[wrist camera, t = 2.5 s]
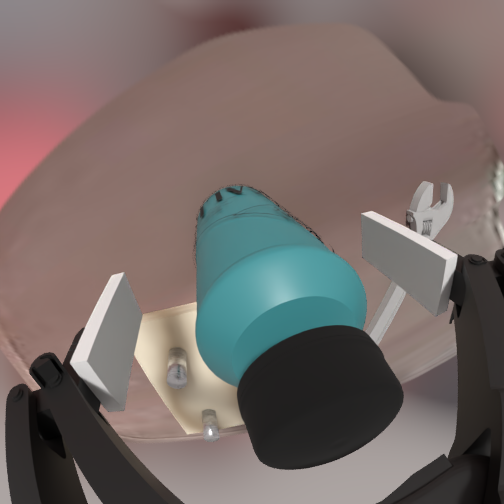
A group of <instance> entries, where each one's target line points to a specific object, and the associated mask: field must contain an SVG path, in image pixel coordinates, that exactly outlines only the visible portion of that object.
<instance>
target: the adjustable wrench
mask: <svg viewBox="0 0 504 504" xmlns="http://www.w3.org/2000/svg"><path fill="white" fill-rule="evenodd" d="M432 195H433V183H429V182H424V181H423V182H422V183H421V184H420V186H419V187H418V189H417V190H416V192H415V194H414V196H413V199H412V202H411V205H410V210H407V214H408V215H407V221H408V222H410V229H411V230H412V231H414V232H416V233H418V234H420V235H422V236H424V237H426V238H428V239H430V240H433V239H434V238H435V236H436V235H437V233H438V232H439V231H440V229H441V228H442V227H443V226H444V224H445V223H446V222H447V221H448V219H449V217H450V215H451V212H452V208H453V190H452V188H451V185H450V184H447V183H444V182H441V189H440V201H439V202H438V203H437V204H436V205H435V206H434V207H433V208H430V205H431V204H432ZM406 293H407V292H406V291H404V290H403V289H402V288H401V287H399V286H398V285H397V284H396V283H394V282H393V281H392V282H391V284H390V286H389V288H388V290H387V292H386V294H385V296H384V298H383V300H382V302H381V304H380V306H379V308H378V309H377V311H376V313H375V315H374V317H373V319H372V320H371V322H370V324H369V326H368V328H367V329H366V331H365V332H366V333H367V334H368V335H369V336H370V337H371V338H372V339H373V341H374V342H375V343H376V344H377V345H378V344H379V342H380V341H381V339H382V337H383V336H384V334H385V332H386V330H387V329H388V327H389V325H390V323H391V321H392V320H393V318H394V316H395V314H396V312H397V310H398V309H399V307H400V305H401V303H402V301H403V299H404V297H405V295H406Z"/></svg>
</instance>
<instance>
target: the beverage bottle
mask: <svg viewBox="0 0 504 504" xmlns="http://www.w3.org/2000/svg"><path fill="white" fill-rule="evenodd" d="M235 185H237V184H235ZM240 185H243V184H240ZM245 186H246V185H245ZM222 188H223V187H222ZM260 191H261V190H260ZM260 191H258V190H256V189H254V188H252V187H247V186H246V187H244V185H243V186H234V185H232V186H231V187H227V188H224V189H220V190H218V191H217V192H216V193H213V195H212V196H211V195H209V196H211V197H209V198H207V199H208V200H207V199H205V200H204V202H205V201H206V200H207V201H206V202H205V203H204V204H202V205H203V206H202V207H200V208H201V209H200V213H199V216H198V215H197V216H198V218H196V220H197V221H198V222H197V226H196V227H197V238H196V239H197V240H196V242H195V245H196V248H195V247H194V246H193V247H194V248H195V249H196V263H197V317H196V322H195V337H196V344H197V348H198V351H199V354H200V356H201V357H202V359H203V361H204V363H205V364H206V365H207V367H208V368H209V369H210V370H211V371H212V372H213V373H214V374H215V375H216V376H217V377H219V378H220V379H221V380H223V381H224V382H226V383H228V384H230V385H232V386H235V387H237V388H238V389H237V401H238V406H239V411H240V414H241V418H242V420H243V422H244V423H245V425H246V427H247V430H248V433H249V437H250V439H251V443H252V445H253V449H254V451H255V453H256V455H257V457H258V459H259V460H260V461H261V462H262V463H263V464H265V465H267V466H269V467H272V468H277V469H285V470H294V469H304V468H310V467H315V466H319V465H322V464H326V463H329V462H332V461H335V460H337V459H340V458H342V457H344V456H346V455H348V454H350V453H352V452H354V451H356V450H358V449H359V448H361V447H363V446H364V445H366V444H367V443H369V442H370V441H371V440H373V439H374V438H375V437H377V436H378V435H379V434H380V433H381V432H382V431H384V430H385V429H386V427H387V426H388V425H389V424H390V423H391V422H392V421H393V419H394V418H395V417H396V415H397V414H398V412H399V410H400V408H401V406H402V403H403V396H404V395H403V391H402V387H401V384H400V382H399V381H398V379H397V378H396V376H395V374H394V373H393V371H392V370H391V368H390V367H389V365H388V364H387V362H386V360H385V359H384V355H383V353H382V351H381V350H380V348H379V347H378V345H377V344H376V343H375V342H374V341H373V339H372V338H371V337H370V336H369V335H368V334H367V333H366V332H364V331H363V327H364V323H365V319H366V312H367V300H366V293H365V290H364V286H363V284H362V282H361V280H360V278H359V276H358V275H357V273H356V272H355V270H354V269H353V268H352V267H351V266H350V265H349V264H348V263H347V262H346V261H345V260H344V259H342V258H341V257H339V256H338V255H336V254H335V253H333V252H334V250H333V252H331V251H330V250H329V249H328V248H327V247H326V246H325V245H324V243H323V242H322V241H321V240H320V241H319V239H320V237H319V236H318V235H317V234H316V233H315V234H316V236H317V237H318V238H319V239H318V238H316V237H315V236H313V235H312V234H311V233H310V232H313V230H312V231H307V230H306V229H305V228H304V227H303V226H302V225H303V224H302V225H300V224H301V223H300V224H299V221H298V222H297V221H295V219H293V218H294V217H293V216H292V217H290V216H289V214H288V213H289V212H287V213H285V212H284V211H285V210H286V209H285V210H282V209H281V208H282V207H281V208H279V205H280V204H278V206H277V205H275V204H274V203H273V202H272V201H274V200H273V199H272V198H271V199H272V201H270V200H269V199H268V198H267V197H265V196H264V195H263V194H261V193H263V192H262V191H261V192H260ZM264 194H265V193H264ZM265 195H266V194H265ZM266 196H267V195H266ZM268 197H269V196H268ZM269 198H270V197H269ZM274 202H275V201H274ZM276 204H277V203H276ZM283 208H284V207H283ZM296 220H298V218H296ZM300 222H301V221H300ZM304 225H306V224H304ZM306 226H307V225H306ZM306 228H309V227H306ZM309 229H311V228H309ZM313 233H314V232H313ZM194 235H195V234H194ZM329 245H330V244H329ZM330 246H331V245H330ZM332 249H333V248H332ZM193 251H195V250H193ZM194 256H195V255H194ZM193 261H194V260H193ZM194 265H195V264H194Z"/></svg>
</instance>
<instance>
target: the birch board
mask: <svg viewBox="0 0 504 504" xmlns="http://www.w3.org/2000/svg"><path fill="white" fill-rule="evenodd" d="M142 315H143V316H142V320H141V325H140V329H139V334H138V338H137V343H136V348H135V352H134V355H135V357H136V359H137V360H138V362H139V364H140V365H141V367H142V369H143V370H144V372H145V374H146V375H147V377H148V378H149V380H150V382H151V383H152V385H153V386H154V388H155V389H156V391H157V392H158V394H159V395H160V397H161V398H162V400H163V401H164V403H165V404H166V406H167V407H168V409H169V410H170V411H171V413H172V414H173V416H174V417H175V418H176V420H177V421H178V422H179V424H180V425H181V426H182V428H183V429H184V430H185V432H186V433H187V434H193V433H200V432H203V423H202V411H203V410H205V409H213V410H215V411H216V416H217V424H218V429H223V428H228V427H233V426H238V425H243V424H245V423H244V422H243V420H242V418H241V414H240V411H239V406H238V401H237V389H238V388H237V387H235V386H232V385H230V384H228V383H226V382H224V381H223V380H221V379H220V378H219V377H217V376H216V375H215V374H214V373H213V372H212V371H211V370H210V369H209V368H208V367H207V365H206V364H205V363H204V361H203V359H202V357H201V356H200V354H199V351H198V348H197V344H196V337H195V322H196V317H197V302H194V303H190V304H186V305H181V306H177V307H173V308H168V309H164V310H159V311H155V312H150V313H146V314H142ZM174 347H180V348H183V349H184V350H185V351H186V353H187V385H186V386H185V387H184V388H181V389H174V388H172V387H170V386H169V385H168V384H167V371H168V357H169V350H170V349H171V348H174Z"/></svg>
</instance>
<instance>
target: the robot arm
mask: <svg viewBox="0 0 504 504" xmlns="http://www.w3.org/2000/svg"><path fill="white" fill-rule="evenodd" d="M361 223H362V258H364V259H365V260H366V261H368V262H369V263H370V264H372V265H373V266H374V267H375V268H377V269H378V270H379V271H381V272H382V273H383V274H384V275H386V276H387V277H388V278H389V279H391V280H392V281H393V282H394V283H396V284H397V285H398V286H399V287H401V288H402V289H403V290H404V291H406V292H407V293H408V294H409V295H410V296H412V297H413V298H414V299H415V300H416V301H418V302H419V303H420V304H421V305H422V306H424V307H425V308H426V309H427V310H428V311H430V312H431V313H432V314H433V315H434V316H435V317H436V316H438V315H440V314H442V313H444V312H445V311H447V308H448V304H449V299H451V300H452V301H453V302H454V307H453V311H452V314H451V318H450V322H449V324H451V323H452V320H453V319H454V324H455V332H456V343H457V359H458V411H457V426H456V436H455V440H454V443H453V445H452V447H451V450H450V452H449V455H448V459H447V457H446V456H445V455H444V454H443V455H441V456H440V457H439V458H437V459H436V460H434V461H433V462H431V463H430V464H428V465H427V466H425V467H424V468H422V469H421V470H419V471H417V472H416V473H414V474H413V475H412V476H410V478H408V479H407V480H406V481H405V482H404V483H403V484H402V485H401V486H400V487H398V488H397V489H396V490H395V491H394V492H392V493H391V494H390V495H389V496H388V497H387V498H385V499H384V500H383V501H381V502H379V503H376V504H504V249H500V250H497V251H496V253H495V258H494V261H489V262H488V261H487V260H486V259H485V258H484V257H482V256H479V255H474V254H470V255H466V256H465V257H462V256H460V255H459V254H457V253H455V252H453V251H451V250H450V249H448V248H445V247H444V246H442V245H440V244H439V243H437V242H435V241H433V240H430V239H428V238H426V237H424V236H422V235H420V234H418V233H416V232H414V231H412V230H410V229H408V228H406V227H404V226H402V225H400V224H398V223H396V222H394V221H392V220H390V219H388V218H386V217H384V216H381V215H379V214H377V213H375V212H373V211H370V212H366V213H361ZM142 316H143V315H142V313H141V310H140V308H139V306H138V304H137V301H136V299H135V297H134V294H133V292H132V290H131V287H130V285H129V283H128V280H127V278H126V275H125V273H124V272H123V273H119V274H115V275H112V276H111V278H110V280H109V282H108V283H107V285H106V287H105V289H104V291H103V293H102V295H101V297H100V299H99V301H98V303H97V305H96V307H95V309H94V311H93V313H92V315H91V317H90V319H89V321H88V323H87V325H86V327H85V328H82V329H81V330H80V331H79V332H78V333H77V335H76V336H75V338H74V340H73V342H72V345H71V347H70V349H69V351H68V353H67V356H66V358H65V360H64V362H63V365H62V364H61V362H60V361H59V359H58V358H57V356H56V355H55V354H54V353H50V352H49V353H44V354H43V355H41V356H39V357H38V358H37V359H35V360H34V362H33V363H32V364H31V367H30V369H29V373H30V375H31V376H32V377H33V379H34V380H35V381H36V382H37V384H38V385H39V386H40V387H41V389H39V390H36V391H33V392H32V391H31V390H30V389H29V388H28V386H27V385H26V384H19V385H17V386H15V387H13V388H12V389H11V390H10V392H9V394H8V397H7V401H6V422H5V440H6V441H5V442H6V462H7V473H8V482H9V489H10V496H11V501H12V504H88V503H87V500H86V498H85V495H84V492H83V489H82V486H81V483H80V480H79V477H78V474H77V471H76V467H75V464H74V460H73V458H74V459H75V461H76V463H77V464H78V466H79V468H80V470H81V471H82V473H83V475H84V476H85V478H86V479H87V481H88V483H89V484H90V486H91V487H92V489H93V490H94V492H95V493H96V495H97V496H98V497H99V499H100V500H101V502H102V503H103V504H184V503H183V502H182V501H181V500H180V499H178V498H177V497H176V496H175V495H174V494H173V493H172V492H171V491H170V490H168V489H167V488H166V487H165V486H164V485H163V484H162V483H161V482H160V481H159V480H158V479H157V478H156V477H155V476H154V475H153V474H152V473H151V472H150V471H149V470H148V469H147V468H146V467H145V466H144V465H143V463H142V462H141V461H140V460H139V459H138V458H137V457H136V456H135V455H134V453H133V452H132V451H131V450H130V449H129V448H128V447H127V445H126V444H125V443H124V442H123V440H122V439H121V438H120V437H119V436H118V434H117V433H116V432H115V431H114V429H113V428H112V427H111V425H110V424H109V423H108V421H107V420H106V419H105V417H104V416H103V415H102V414H101V413H100V411H99V408H100V403H101V404H102V405H103V406H104V408H105V409H106V410H107V411H108V412H113V411H124V410H125V403H126V397H127V391H128V385H129V379H130V373H131V368H132V363H133V357H134V352H135V348H136V343H137V338H138V334H139V329H140V325H141V320H142Z"/></svg>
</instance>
